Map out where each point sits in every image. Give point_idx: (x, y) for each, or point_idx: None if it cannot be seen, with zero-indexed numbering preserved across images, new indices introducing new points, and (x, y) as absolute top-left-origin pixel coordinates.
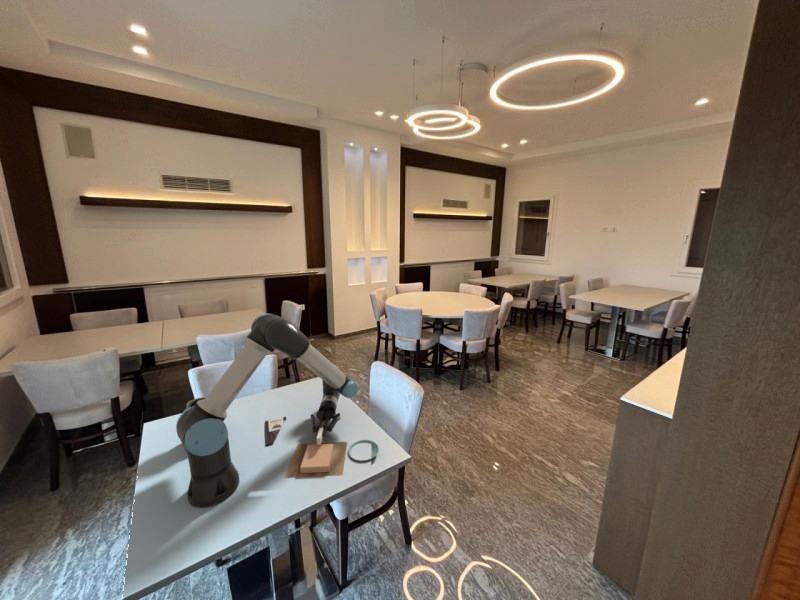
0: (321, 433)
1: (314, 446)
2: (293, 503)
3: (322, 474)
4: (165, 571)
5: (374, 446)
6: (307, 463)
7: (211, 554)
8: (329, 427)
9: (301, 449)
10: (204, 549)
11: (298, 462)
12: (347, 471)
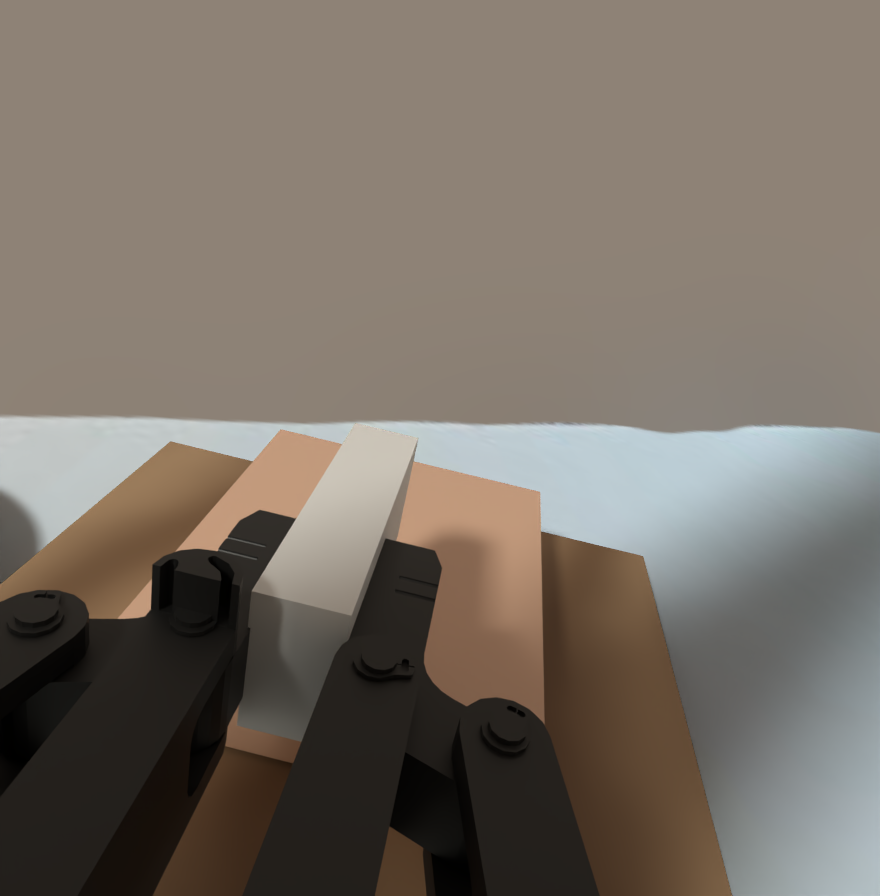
0: (326, 476)
1: None
2: (514, 454)
3: None
4: (865, 437)
5: None
6: (480, 500)
7: (758, 426)
8: (65, 617)
9: (636, 890)
10: (801, 443)
11: (587, 660)
12: (96, 492)
